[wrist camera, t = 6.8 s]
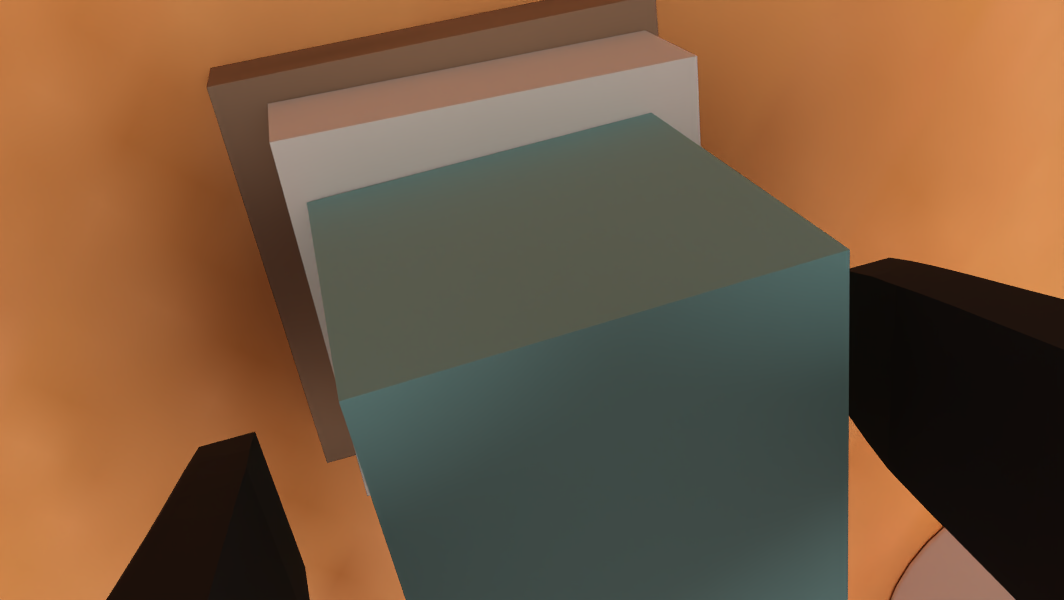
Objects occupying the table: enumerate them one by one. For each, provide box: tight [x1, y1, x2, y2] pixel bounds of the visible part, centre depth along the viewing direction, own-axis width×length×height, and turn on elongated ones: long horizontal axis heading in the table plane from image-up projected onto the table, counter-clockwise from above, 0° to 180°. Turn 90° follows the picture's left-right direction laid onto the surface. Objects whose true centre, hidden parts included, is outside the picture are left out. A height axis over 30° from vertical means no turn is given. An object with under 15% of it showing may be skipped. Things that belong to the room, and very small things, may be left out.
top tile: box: [268, 30, 701, 496], centre depth 15 cm, size 6×6×2 cm
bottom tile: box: [207, 0, 658, 463], centre depth 16 cm, size 7×7×2 cm
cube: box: [307, 113, 850, 600], centre depth 12 cm, size 5×5×5 cm
